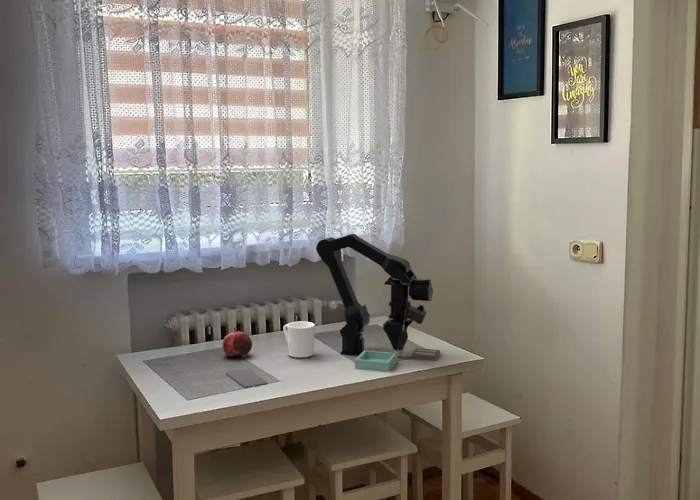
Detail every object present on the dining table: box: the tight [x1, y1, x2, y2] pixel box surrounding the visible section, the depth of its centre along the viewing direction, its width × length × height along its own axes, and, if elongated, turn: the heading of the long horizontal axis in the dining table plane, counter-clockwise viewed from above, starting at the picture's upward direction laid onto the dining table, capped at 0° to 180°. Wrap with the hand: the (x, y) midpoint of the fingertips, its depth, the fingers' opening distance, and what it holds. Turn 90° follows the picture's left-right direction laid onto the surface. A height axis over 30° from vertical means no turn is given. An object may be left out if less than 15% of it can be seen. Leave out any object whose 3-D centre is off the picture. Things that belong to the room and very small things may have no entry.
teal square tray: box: [354, 349, 398, 373], centre depth 229 cm, size 11×11×3 cm
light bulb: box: [394, 329, 409, 359], centre depth 236 cm, size 6×6×10 cm
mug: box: [282, 320, 316, 360], centre depth 239 cm, size 11×9×10 cm
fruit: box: [222, 325, 253, 358], centre depth 238 cm, size 9×10×10 cm
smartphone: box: [225, 368, 268, 389], centre depth 216 cm, size 8×1×15 cm
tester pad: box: [410, 347, 441, 361], centre depth 239 cm, size 8×8×1 cm
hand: (398, 346), depth 237 cm, fingers open, 9 cm apart
